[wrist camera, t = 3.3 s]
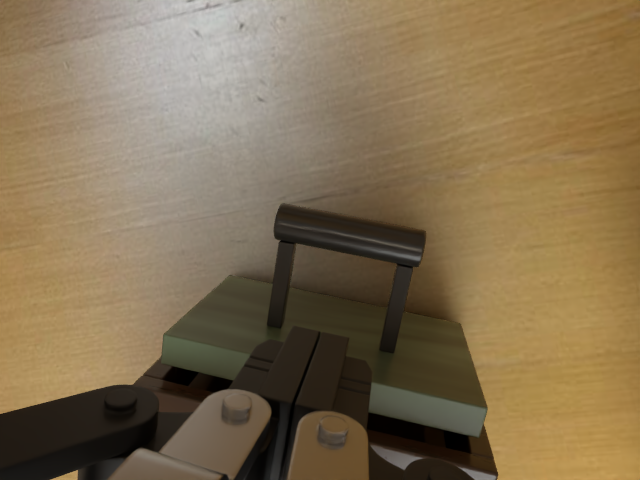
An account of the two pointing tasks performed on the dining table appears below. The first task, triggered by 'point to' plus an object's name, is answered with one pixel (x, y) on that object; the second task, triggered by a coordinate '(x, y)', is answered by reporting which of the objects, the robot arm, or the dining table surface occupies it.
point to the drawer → (341, 329)
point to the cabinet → (396, 450)
